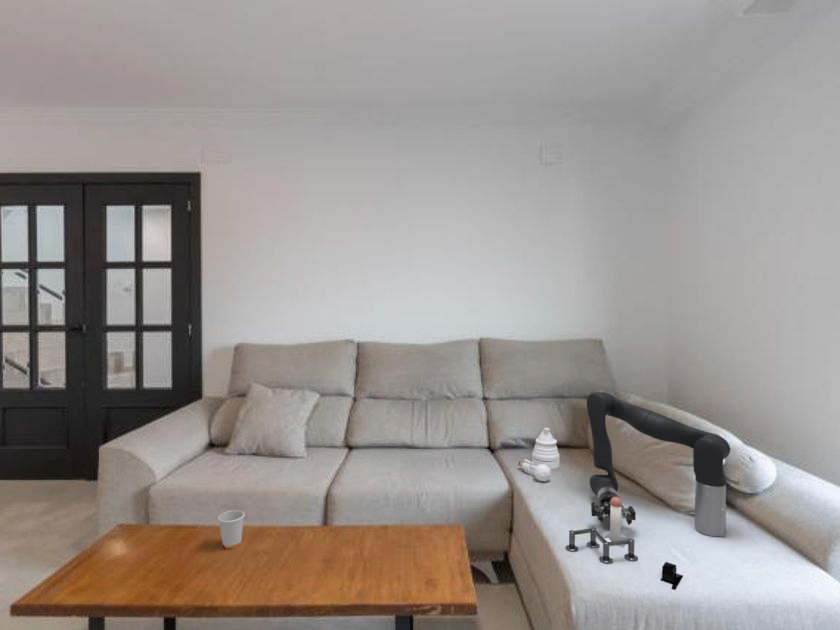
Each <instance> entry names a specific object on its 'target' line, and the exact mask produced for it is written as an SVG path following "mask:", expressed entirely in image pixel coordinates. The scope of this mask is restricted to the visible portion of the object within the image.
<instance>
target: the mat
mask: <svg viewBox="0 0 840 630" xmlns="http://www.w3.org/2000/svg"><path fill="white" fill-rule="evenodd" d="M603 538H609V539H610V532H607V533H606V534H605V536H604V537H603ZM628 539H630V538H628V537H624V536H621V540H628ZM616 547H621V548H625V547H626V544H625V545H616Z"/></svg>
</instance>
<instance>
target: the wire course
mask: <svg viewBox="0 0 840 630" xmlns="http://www.w3.org/2000/svg"><path fill="white" fill-rule="evenodd" d="M597 531H598V530H597V528H596V527H593V526H592V527H589V528H588V529H583V530H576V531H573V529H572V530H568V544H567V545H566V546H565V550H566V551H568V552H570V553H577V552H578V551H579V547H578V546H576V536H575V535H577V534H584V533H590V540H589V541H588V542H587V543H586V546H587V547H588V548H589V547H590V548H589V549H592V548H598V549H600V544H599V543H598V542H597V539H598V541H600V543H602V556H599V558H598V559H599V562H600V563H602V564H603V565H612V564H613V563H614V559H612V558H611V557H610V547H612V546H617V545H625V546H626V545H627V553H624V556H623V557H624V559H625V560H627V561H629V562H633V563H634V562H637V561H639V556H637V555H635V539H633V538H629V539H628V540H621V541H611V542H607V541H606V540H605V539H604V537H603V536H602V535H601V534H600V532H599V533H598V532H597Z"/></svg>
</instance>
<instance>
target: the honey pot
mask: <svg viewBox="0 0 840 630" xmlns="http://www.w3.org/2000/svg"><path fill="white" fill-rule="evenodd" d="M557 443H558V439H556V438H554V437H553V435H552V433H551V432H550V428H549V427H544V428H543V431H541V433H540V434H539V436H538V437H537V438H536V439H535V445H534V446H533V447H534V448H533V451H532V455H531V456H532V457H531V462H533V464H532V465H534V466H538V465H540V464H544V465H546V466H547V467H549V469H550V470H554V469H557V468H560V459H561V457H560V453H559V450H558V446H557Z"/></svg>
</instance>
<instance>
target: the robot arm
mask: <svg viewBox="0 0 840 630" xmlns="http://www.w3.org/2000/svg"><path fill="white" fill-rule="evenodd" d="M586 409H587V413H588V414H587V415H588V420H589V425H590V431H591V438H592V448H593V449H592V450H593V452H592V454H593V466H594V467H595V468H596V469H599V470H604V471H606V473H607V474H597V473H596V474H593V475H591V477H590V478H589V487H590V489H591V491H592V493H593V494H595V496H597V502H598V504H596V503H595V502H590V511H591V512H590V513H591V517H596V518H597V520H598V521H600V523H604V518H605V517H607V516H609V517H610V508H611V503H610V500H611V499H612V498H613V497H618V498H620V496H619V494H618V490H619V483H618V479H617V476H616V474H615V470H614V466H613V465H614V464H613V451H612V445H611V443H612V442H611V440H610V438H609V434H608V431H607V427H606V426H607V425H606V417H607V416H608V417H612V418H615V419H619V420H620V421H623V422H625V423H626V424H628V425H629V426H630V427H632V428H633V429H635V430H636V431H638V432H640V433H641V434H643V435H646V436H648V437H650V438H653V439H656V440H659V441H663V442H668V443H673V444H679V445H682V446H686V447H688V448H691V449H693V450H692V452H693V453H692V454H693V456H692V458H693V460H692V461H693V462H692V463H693V464H692V465H693V467H692V468H693V473H694V477H695V483H694V484H695V486H694V491H695V492H694V529H695V530H696V531H697V532H698V533H700V534H703V535H706V536H710V537H720V538H721V537H722V538H724V537H725V534H726V529H727V528H726V527H727V524H726V522H727V504H726V503H727V502H726V501H727V476H726V475H725V474H724V460H725V459H726V458H727V457H729V455H730V453H731V447H730V443H729V442H728V441H727V440H726V439H725V438H724V437H723V436H720V435H718V434H716V433H713V432H709V431H706V430H701V429H700V428H699V429H698V428H696V427H692V426H689V425H686V424H685V423H682V422H681V421H677V420H676V419H673V418H669V417H668V416H665V415H663V414H661V413H658V412H655V411H653V410H650V409H647V408H644V407H641V406H638V405H634V404H631V403H629V402H627V401H624V400H623V399H621V398H618V397H617V396H615V395H613V394H611V393H608V392H605V391H598V392H597V391H595V392H592V393H590V394H589V395H588V397H587V399H586ZM636 515H637V514H636V510H635V509H634V507H633V506H632V505H628V506H627V507H625V506H624V505H623V504H622V505H621V520H624V519H625V522H626V524H627V525H629V526H630V525H631V524H632V523H633V521H636Z"/></svg>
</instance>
